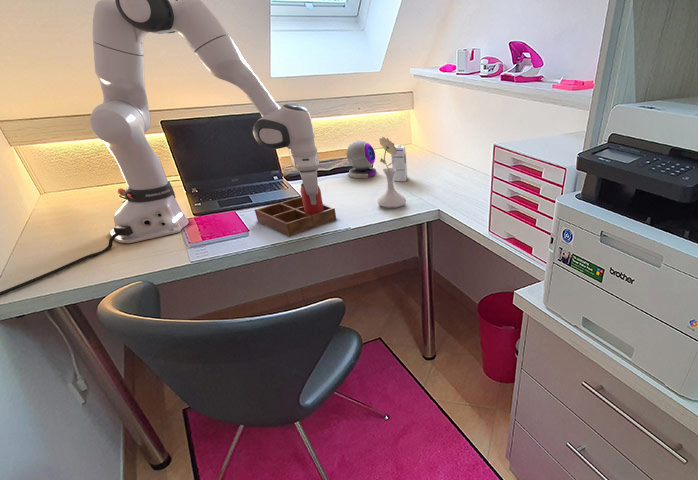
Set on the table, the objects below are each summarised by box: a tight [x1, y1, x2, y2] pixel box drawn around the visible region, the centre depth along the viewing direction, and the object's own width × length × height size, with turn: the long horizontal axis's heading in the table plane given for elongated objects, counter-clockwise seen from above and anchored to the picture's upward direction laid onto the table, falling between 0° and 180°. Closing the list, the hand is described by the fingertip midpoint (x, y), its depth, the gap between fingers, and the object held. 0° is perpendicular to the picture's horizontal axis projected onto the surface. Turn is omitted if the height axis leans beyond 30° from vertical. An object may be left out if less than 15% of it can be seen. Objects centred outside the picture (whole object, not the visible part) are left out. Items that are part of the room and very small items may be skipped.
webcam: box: [346, 139, 377, 179], centre depth 196 cm, size 13×13×15 cm
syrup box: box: [390, 144, 408, 182], centre depth 191 cm, size 6×6×14 cm
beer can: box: [300, 182, 324, 215], centre depth 149 cm, size 7×7×12 cm
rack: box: [254, 195, 337, 238], centre depth 151 cm, size 19×19×4 cm
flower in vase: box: [377, 136, 407, 209], centre depth 161 cm, size 13×11×25 cm
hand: (312, 199), depth 148 cm, fingers open, 8 cm apart
